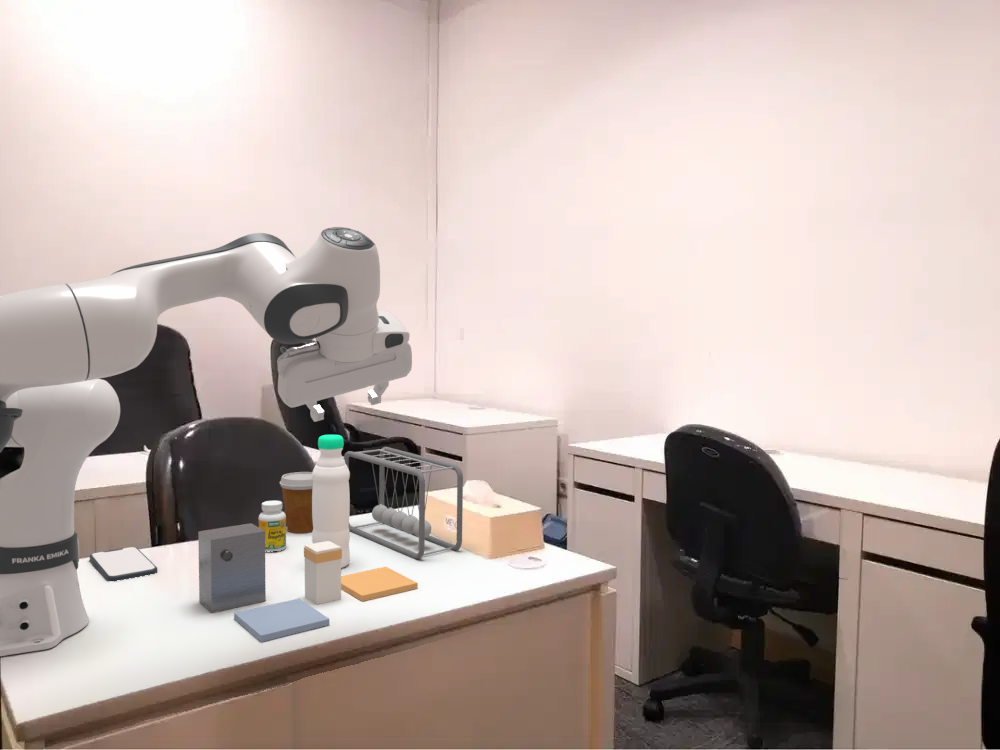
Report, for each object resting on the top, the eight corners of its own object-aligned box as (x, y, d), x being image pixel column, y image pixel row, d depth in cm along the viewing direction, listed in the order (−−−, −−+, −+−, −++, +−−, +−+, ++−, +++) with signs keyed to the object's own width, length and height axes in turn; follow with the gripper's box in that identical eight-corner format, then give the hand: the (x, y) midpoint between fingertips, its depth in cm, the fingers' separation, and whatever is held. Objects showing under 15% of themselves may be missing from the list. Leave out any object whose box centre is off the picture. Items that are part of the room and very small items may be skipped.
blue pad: (261, 642, 121) (261, 635, 121) (234, 618, 129) (234, 612, 129) (329, 625, 128) (329, 618, 128) (299, 604, 136) (299, 598, 136)
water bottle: (354, 560, 160) (354, 433, 158) (343, 571, 153) (343, 439, 151) (318, 558, 160) (318, 432, 158) (307, 570, 154) (306, 438, 151)
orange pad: (362, 601, 138) (362, 595, 138) (332, 583, 146) (332, 577, 146) (417, 588, 145) (417, 582, 145) (385, 571, 153) (385, 566, 153)
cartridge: (316, 604, 136) (316, 551, 135) (304, 596, 140) (303, 545, 139) (341, 598, 139) (341, 547, 138) (329, 591, 143) (329, 540, 142)
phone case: (160, 576, 151) (136, 553, 163) (159, 568, 150) (136, 545, 163) (107, 586, 145) (87, 561, 158) (107, 577, 145) (87, 553, 157)
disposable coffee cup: (284, 537, 174) (283, 482, 173) (276, 526, 183) (275, 473, 182) (328, 532, 178) (328, 478, 177) (318, 522, 187) (318, 470, 186)
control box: (213, 614, 131) (211, 540, 130) (198, 601, 137) (197, 530, 136) (267, 602, 137) (266, 531, 136) (251, 590, 142) (250, 522, 141)
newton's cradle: (463, 552, 166) (464, 466, 165) (420, 562, 159) (421, 472, 158) (382, 521, 189) (382, 445, 187) (342, 528, 182) (342, 449, 181)
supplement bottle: (278, 543, 170) (277, 498, 169) (291, 549, 166) (291, 503, 165) (253, 548, 166) (253, 502, 165) (267, 554, 162) (266, 507, 161)
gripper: (285, 364, 110) (288, 441, 118) (419, 331, 120) (414, 404, 128) (268, 339, 114) (272, 416, 122) (399, 309, 124) (395, 382, 132)
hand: (346, 410), depth 125 cm, fingers open, 8 cm apart
